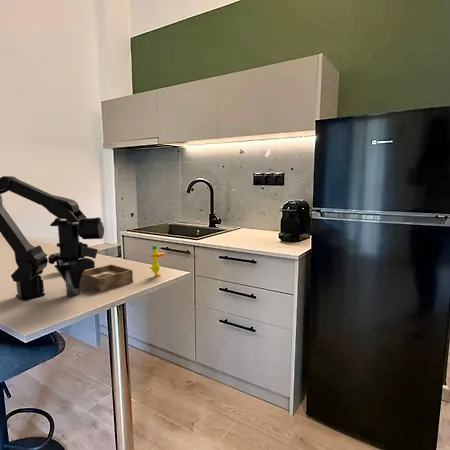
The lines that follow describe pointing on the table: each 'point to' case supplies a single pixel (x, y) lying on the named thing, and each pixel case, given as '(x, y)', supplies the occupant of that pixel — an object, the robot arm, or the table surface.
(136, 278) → the table surface
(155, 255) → the toy figure
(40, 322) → the table surface
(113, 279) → the walnut box
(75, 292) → the metal peg
